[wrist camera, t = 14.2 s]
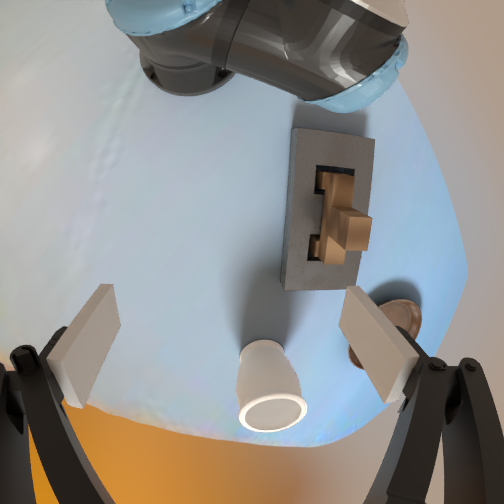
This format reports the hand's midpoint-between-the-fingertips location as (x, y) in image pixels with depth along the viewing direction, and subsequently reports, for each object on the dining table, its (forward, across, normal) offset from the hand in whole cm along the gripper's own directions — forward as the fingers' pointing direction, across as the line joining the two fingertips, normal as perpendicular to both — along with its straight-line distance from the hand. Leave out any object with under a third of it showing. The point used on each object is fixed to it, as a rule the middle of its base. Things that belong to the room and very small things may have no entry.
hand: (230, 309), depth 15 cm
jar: (+29, +7, -28) cm, 41 cm away
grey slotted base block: (+29, +15, 0) cm, 32 cm away
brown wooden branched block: (+29, +15, 0) cm, 32 cm away
